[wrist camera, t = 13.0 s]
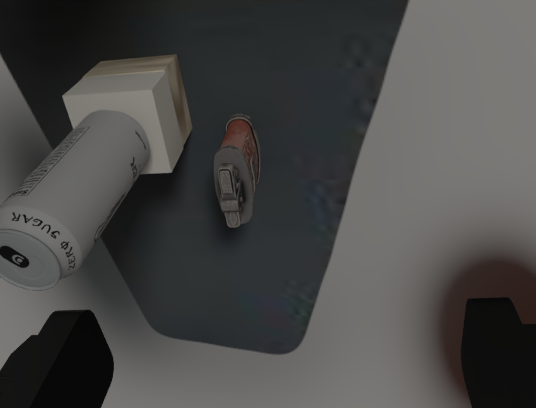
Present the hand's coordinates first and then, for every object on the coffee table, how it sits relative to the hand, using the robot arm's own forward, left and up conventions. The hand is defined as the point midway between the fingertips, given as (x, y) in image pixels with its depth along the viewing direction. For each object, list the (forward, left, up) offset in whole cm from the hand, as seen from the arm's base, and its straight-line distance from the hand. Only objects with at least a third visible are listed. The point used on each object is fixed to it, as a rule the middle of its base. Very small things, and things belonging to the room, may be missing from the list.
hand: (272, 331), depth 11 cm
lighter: (+15, -8, -38) cm, 42 cm away
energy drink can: (+8, -16, -29) cm, 34 cm away
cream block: (+8, -16, -34) cm, 38 cm away
